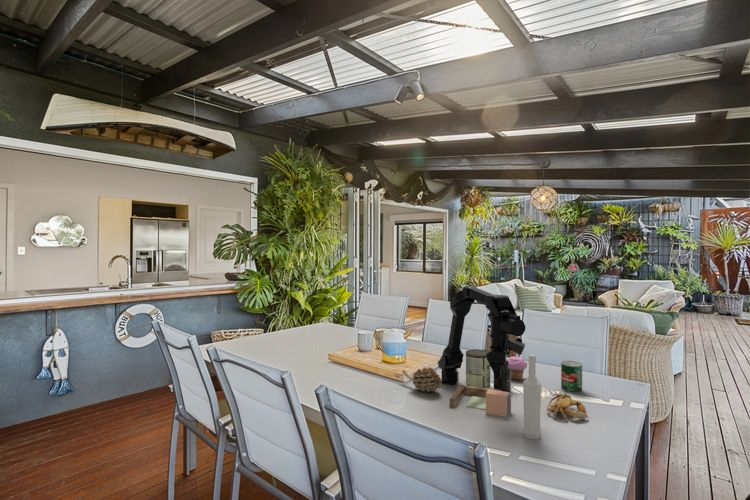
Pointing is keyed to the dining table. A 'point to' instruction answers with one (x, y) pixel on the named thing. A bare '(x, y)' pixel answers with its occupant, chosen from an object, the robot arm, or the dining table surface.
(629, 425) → the dining table surface
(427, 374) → the pine cone
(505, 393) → the terracotta block
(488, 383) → the coffee can
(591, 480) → the dining table surface
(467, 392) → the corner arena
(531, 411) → the bottle
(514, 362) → the cupcake
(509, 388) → the supplement bottle
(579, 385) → the canned tomato
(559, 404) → the crab model
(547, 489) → the dining table surface
